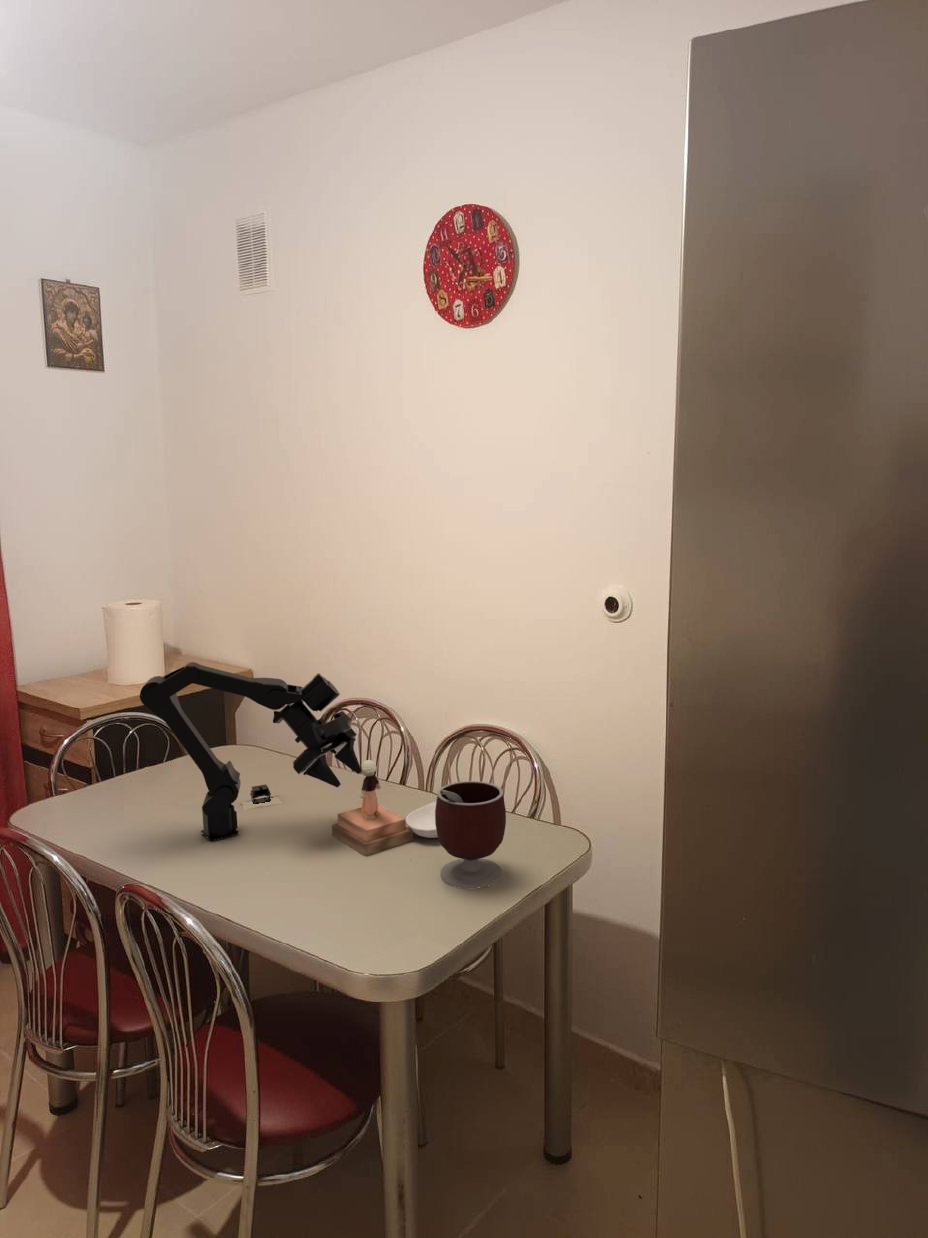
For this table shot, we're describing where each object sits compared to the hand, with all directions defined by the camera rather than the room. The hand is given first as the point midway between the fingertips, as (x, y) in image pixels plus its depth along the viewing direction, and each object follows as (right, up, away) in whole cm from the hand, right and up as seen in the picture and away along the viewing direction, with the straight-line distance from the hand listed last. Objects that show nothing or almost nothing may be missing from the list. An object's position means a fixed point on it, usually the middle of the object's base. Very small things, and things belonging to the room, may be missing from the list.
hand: (349, 779), depth 188 cm
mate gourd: (+26, -16, -18) cm, 36 cm away
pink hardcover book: (+5, -13, 0) cm, 14 cm away
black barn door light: (-25, -11, +23) cm, 35 cm away
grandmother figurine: (+5, -8, 0) cm, 9 cm away
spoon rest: (+22, -12, +6) cm, 26 cm away
